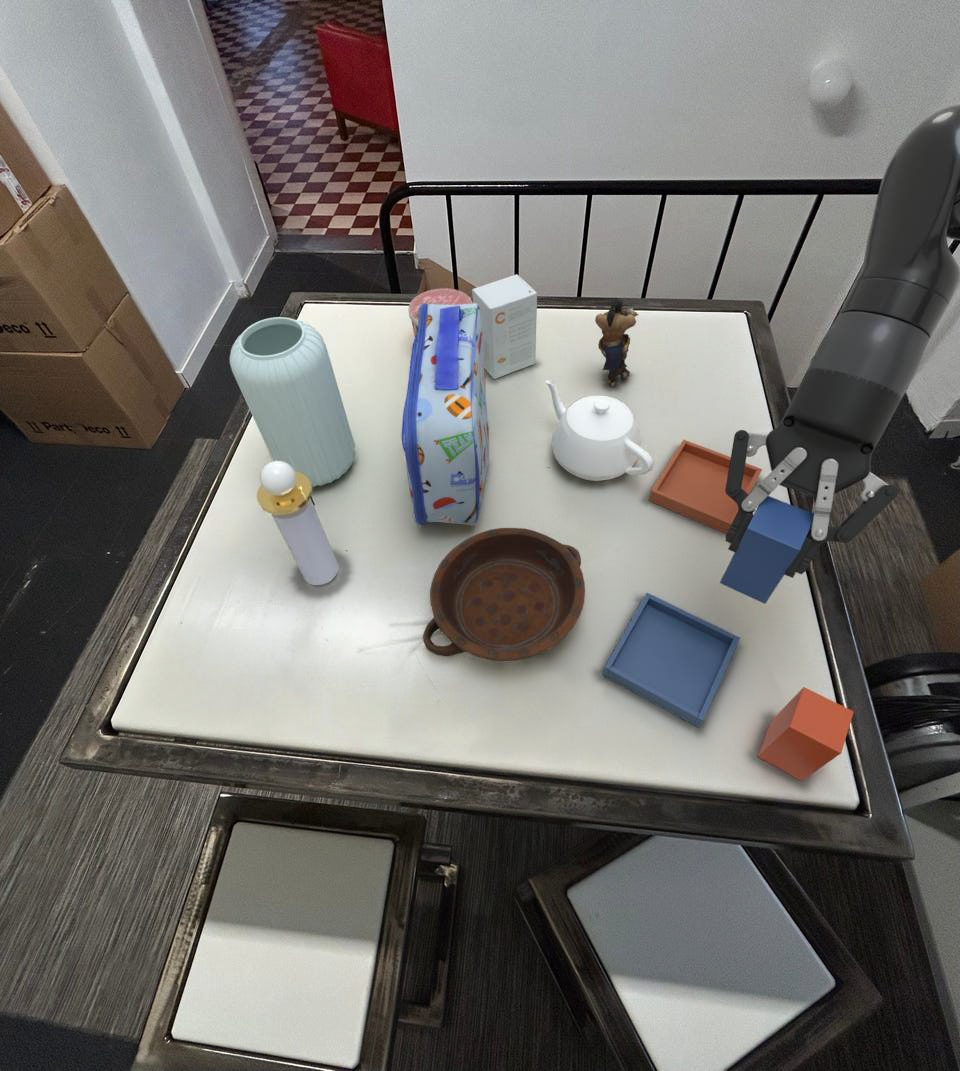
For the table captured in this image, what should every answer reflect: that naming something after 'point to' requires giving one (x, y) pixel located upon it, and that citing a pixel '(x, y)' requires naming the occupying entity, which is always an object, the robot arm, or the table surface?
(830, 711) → the terracotta block
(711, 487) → the terracotta tray
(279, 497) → the perfume bottle
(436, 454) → the lunch box
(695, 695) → the blue tray
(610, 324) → the figurine
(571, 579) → the dish
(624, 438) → the teapot
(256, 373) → the vase
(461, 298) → the container
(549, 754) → the table surface
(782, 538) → the blue block
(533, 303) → the small box
